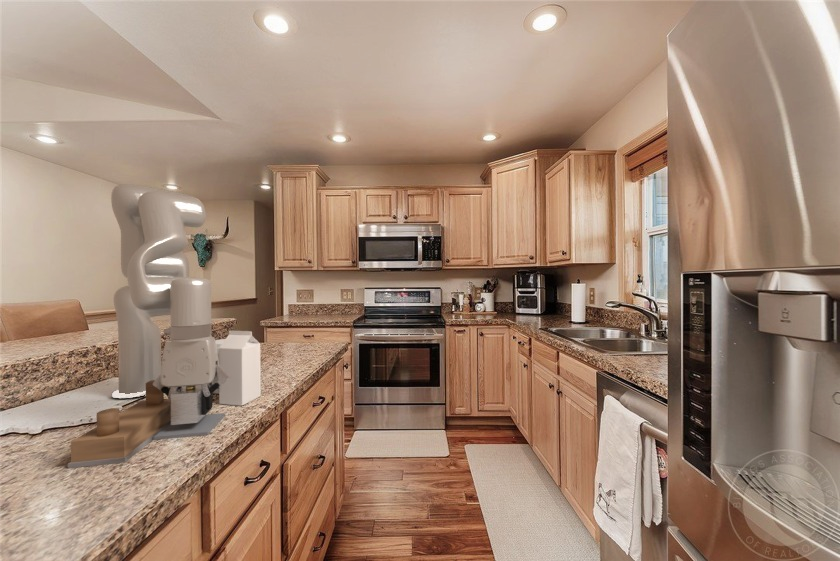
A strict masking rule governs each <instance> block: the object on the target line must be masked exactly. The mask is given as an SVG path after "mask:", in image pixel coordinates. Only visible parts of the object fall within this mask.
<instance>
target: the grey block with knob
mask: <svg viewBox="0 0 840 561" xmlns="http://www.w3.org/2000/svg"><path fill="white" fill-rule="evenodd" d="M203 396H204V393H203V390H202V387H201V385H196V386H182V388H180V389H179V390H177V391H175V392H174V393H172V394H171V425H178V424H189V423H198V422H199V421H200V420H201V419H202V418H203V417H204V416H205V415H202V397H203ZM211 410H212V408H211V409H210V411H211Z"/></svg>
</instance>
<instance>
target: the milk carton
mask: <svg viewBox="0 0 840 561" xmlns="http://www.w3.org/2000/svg"><path fill="white" fill-rule="evenodd" d="M224 339H225V340H224V342H223V343H222V344H221V346H220V347H219V367H220V368H221V369H222V370H223V371H224V372H225V374H226V375H227V376H228V377H229V379H228V380H227V381H226V382H224V383H223V384H222V385H220V386H219V394H218V395H219V396H218V397H219V398H218V399H219V404H220V405H228V406H229V405H231V406H244V405H246V404H249V403H251V402H252V401H254V400H256V399H258V398H260V397H261V396H262V394H261V393H262V392H261V391H262V390H261V388H262V386H261V383H262V381H261V380H262V378H261V375H262V374H261V343H260V342H259V341H258V340H257V339H256V338H255V337H254V336H253V332H252V331H249V330H228V335H227V337H226V338H224Z"/></svg>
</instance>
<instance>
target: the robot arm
mask: <svg viewBox="0 0 840 561" xmlns="http://www.w3.org/2000/svg"><path fill="white" fill-rule="evenodd" d="M110 195H111V197H110V200H111V207H112V208H111V209H112V211H113V215H114V217H115V218H116V221H117V224H118V226H119V229H120V269H121V272H122V275H123V276H124V277H125V278H126V279H127V285H126V286H125V285H124V286H123V287H120V288H118V289H117V290H116V291H115V292H114V295H113V305H114V310H115V315H116V321H117V335H118V336H117V337H118V340H117V341H118V346H117V348H118V349H117V350H118V351H117V352H118V356H117V357H118V389H119V393H125V394H130V393H137V392H143V391H146V383H147V382H149V381H151V380H155V381H154V382H153V386H155V387H156V388H158V389H160V390H161V391H162V392H163V393H164V395H166V396H167V399H171V394H172V393H174V392H175V391H177V390H179V389H180V388H182V387H183V386H196V385H201V387H202V390H203V393H204V396H203V397H202V415H208V413H209V412H211V410H212V408H213V404H214V402H213V399H214V398H213V394H214V393H213V392H214V391H215V390H216V389H217V388H218V387H219V386H220V385H222V384H223V383H224V382H226V381H227V380H228V379H229V377H228V376H227V375H226V374H225V372H224V371H223V370H222V369H221V368H220V367H219V358H218V350H217V345H216V341H215V340H216V339H215V336H212V283H211V281H210V280H209V279H208V278H205V277H191V276H190V263H189V260H188V259H189V258H188V257H187V255H186V254H185V253H184V252H183V251H184V250H185V249H186V248H188V244H189V239H188V235H187V232H186V228H185V227H187V228H196V229H197V228H201V227H202V226H203V225H204V224H205V222H206V218H207V212H206V208H205V206H204V203H203V202H202V201H201V200H200V199H199V198H197V197H195V196H192V195H190V194H186V193H181V192H177V191H173V190H172V191H171V190H166V189H161V188H155V187H150V186H147V185H146V186H145V185H139V184H131V183H127V184H117V185H116V186H114V187H113V189H112V192H111V194H110ZM159 316H169V317H170V326H169V327H168V328H166V327H165V328H164V329H163V334H164V335H166V336H167V335H168V336H169V339H168V340H166V341H165V343H164V348H163V351H162V332H161V328H160V327H159V326H158V325H157V324H156V323H155V322H154V321H153V320H152V319H151V318H153V317H159ZM217 377H218V378H219V380H218V381H217V382H216V383H214V384H213V382H212V381H213V380H214V379H215V378H217ZM210 409H211V410H210Z"/></svg>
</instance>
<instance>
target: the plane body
mask: <svg viewBox="0 0 840 561" xmlns="http://www.w3.org/2000/svg"><path fill="white" fill-rule="evenodd" d="M154 381H155V380H151V381H149V382H147V383H146V396H145V399H142V400H140V401H138V402H137V403H135V404H133V405H131V406H130V407H128V408H127V409H125V410H123V411H121V412H120V409H119V408H117V407H113V408H106V409H104V410H100V411H98V412H96V427H94V428H92V429H91V430H89V431H87V432H86V433H83V434H82V435H80V436H78V437H77V438H75V439H73V440H71V442H70V462H68V463H67V469H76V468H83V467H93V466H103V465H112V464H121V463H126V462H127V461H129V460H130V459H132V457H133V456H135V455H136V454H137V453H138V452H140V451H141V450H142V449H143V448H145V447H146V446H147V445H148V444H149V443H151V442H152V441H153V437H154V436H155V435H157V434H158V433H159V432H160V431H162V430H163V429H164V428H165V427H166V426H168V425H169V424H170V423H171V399H168V398H164V397H165V396H164V395H165V394H164V393H163V392H162V391H161V390H160V389H158V388H156V387H155V386H153V382H154Z"/></svg>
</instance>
